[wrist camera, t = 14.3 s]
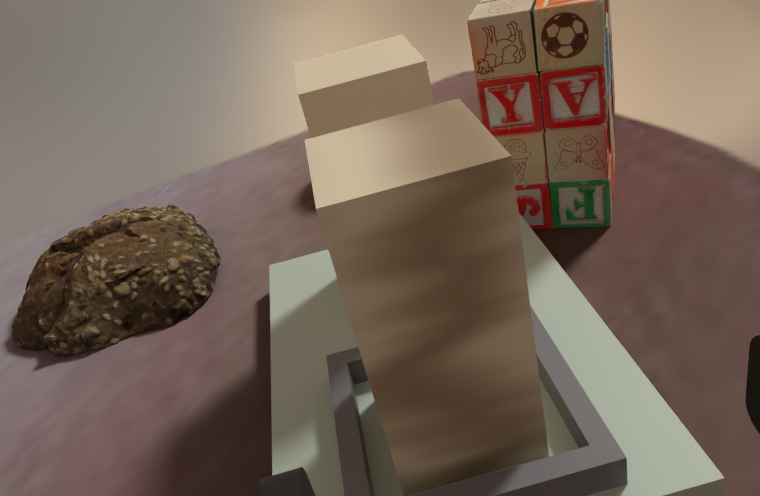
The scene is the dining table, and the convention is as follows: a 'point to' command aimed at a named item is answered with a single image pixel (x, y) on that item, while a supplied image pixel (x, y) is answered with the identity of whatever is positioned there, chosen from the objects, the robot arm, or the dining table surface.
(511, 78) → the stack of blocks
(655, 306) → the dining table surface
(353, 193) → the maple pillar
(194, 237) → the bread roll
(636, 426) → the baseplate
